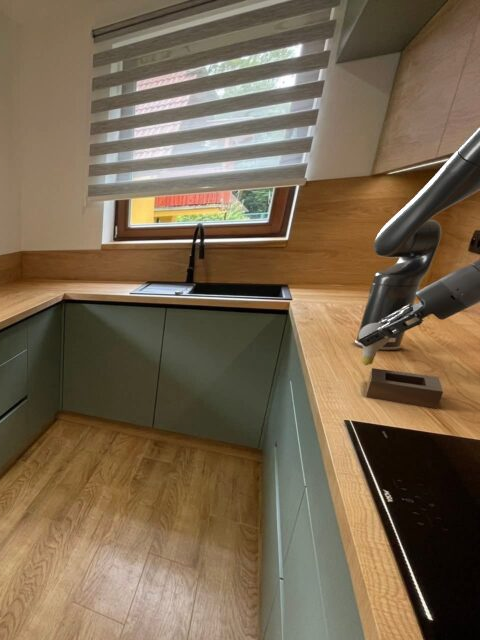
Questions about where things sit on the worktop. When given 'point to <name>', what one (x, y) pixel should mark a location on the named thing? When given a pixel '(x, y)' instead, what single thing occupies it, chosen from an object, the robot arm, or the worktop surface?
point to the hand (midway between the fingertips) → (362, 340)
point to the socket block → (404, 387)
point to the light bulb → (372, 349)
